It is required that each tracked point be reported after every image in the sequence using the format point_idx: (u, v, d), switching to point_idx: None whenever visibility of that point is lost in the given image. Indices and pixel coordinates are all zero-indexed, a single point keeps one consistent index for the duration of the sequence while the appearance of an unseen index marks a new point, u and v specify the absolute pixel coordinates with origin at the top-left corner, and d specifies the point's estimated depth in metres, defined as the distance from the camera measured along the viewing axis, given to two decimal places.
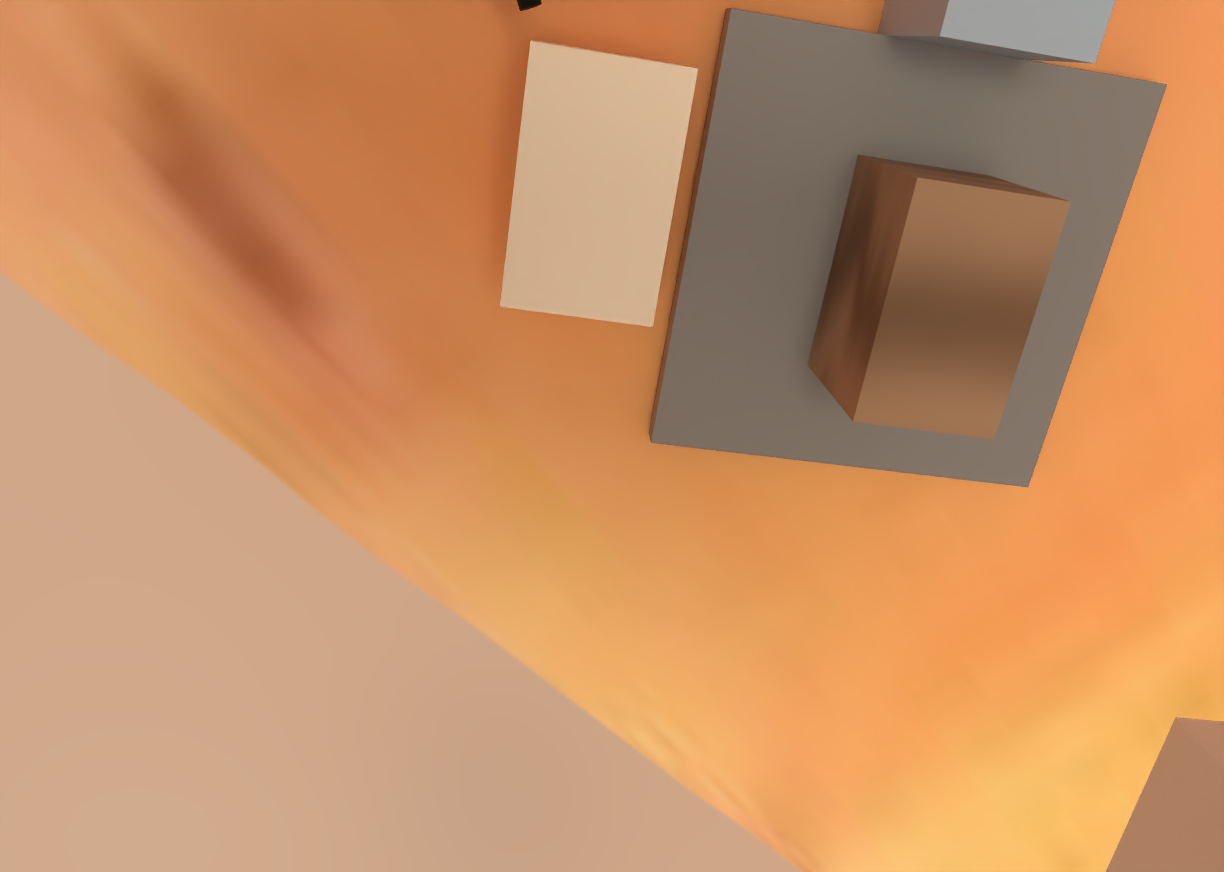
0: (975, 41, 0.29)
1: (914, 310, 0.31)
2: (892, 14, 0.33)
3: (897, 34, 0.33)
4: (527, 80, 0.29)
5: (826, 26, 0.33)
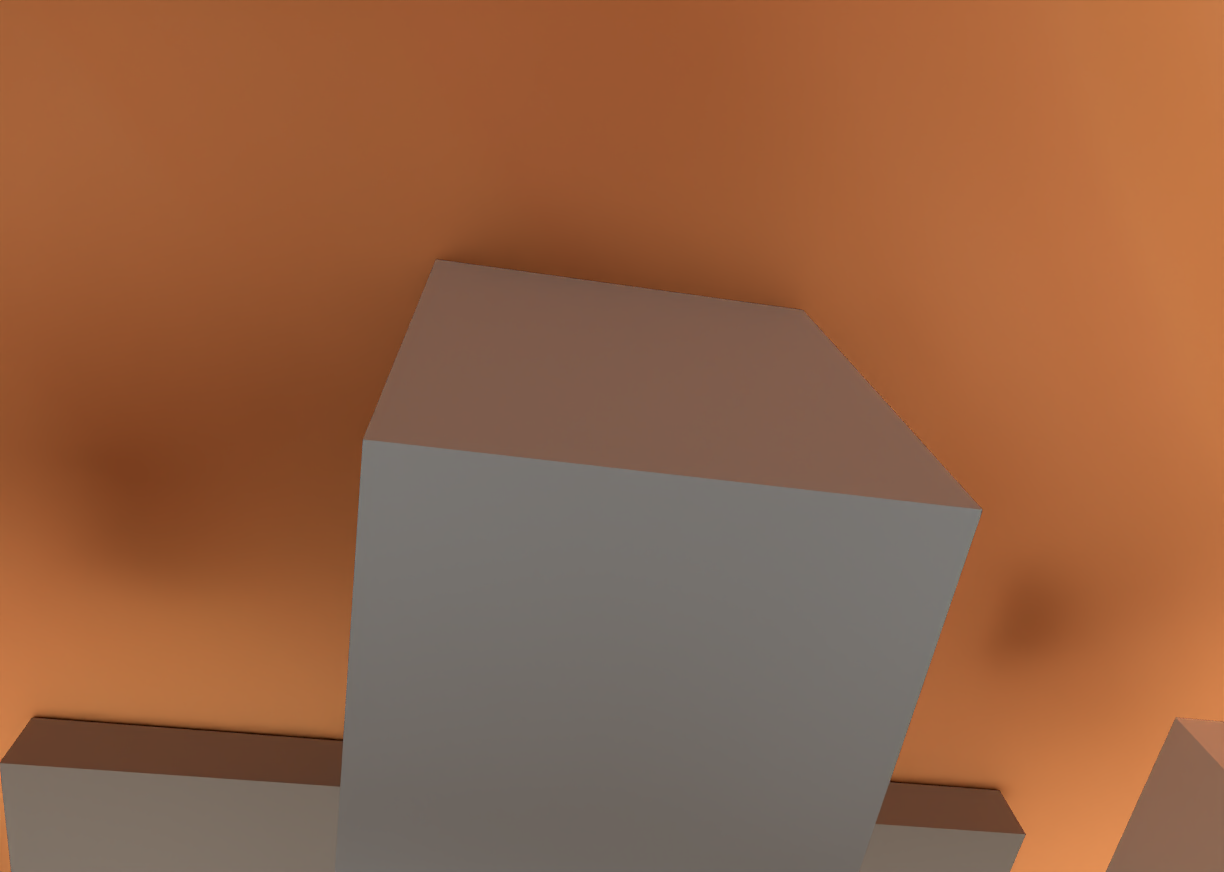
0: None
1: None
2: None
3: None
4: None
5: (237, 782, 0.15)
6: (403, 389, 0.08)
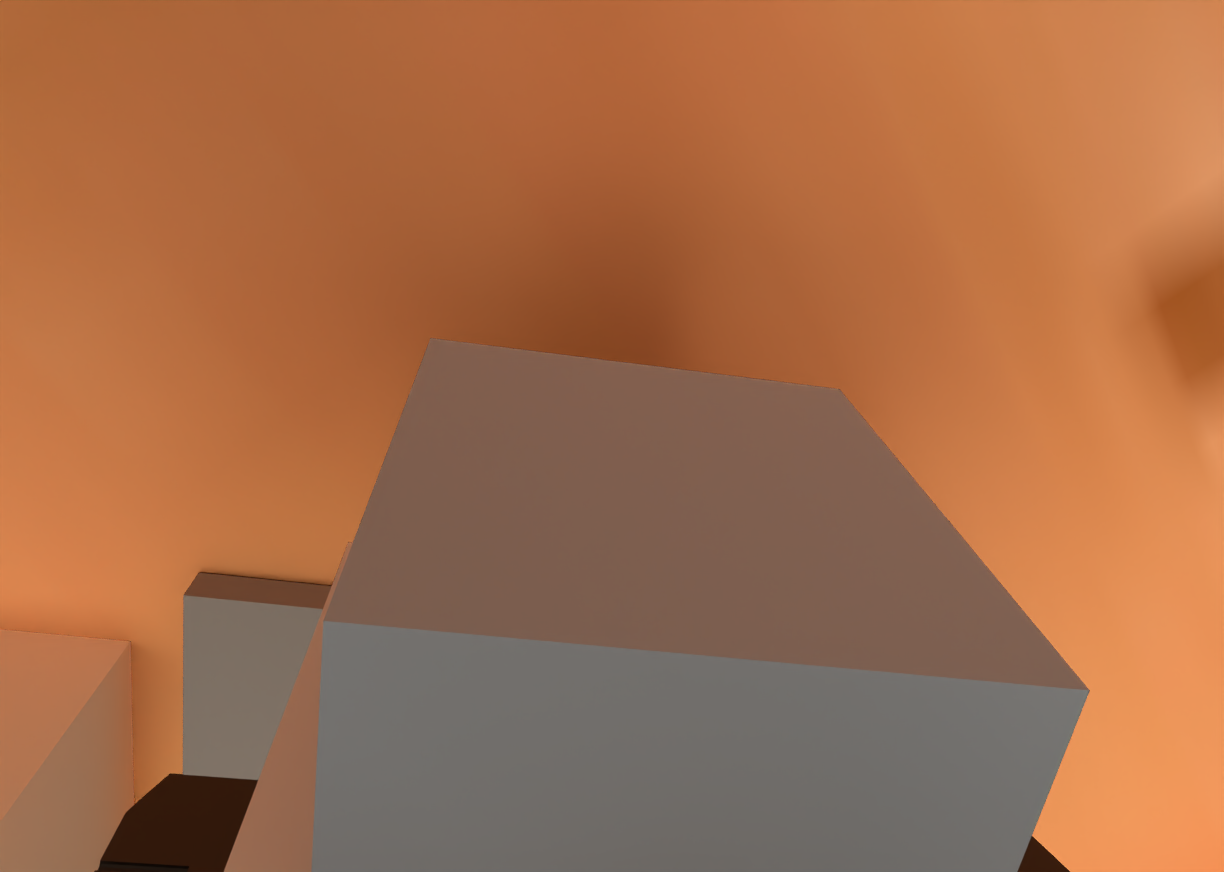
0: None
1: None
2: None
3: None
4: None
5: None
6: (379, 536, 0.07)
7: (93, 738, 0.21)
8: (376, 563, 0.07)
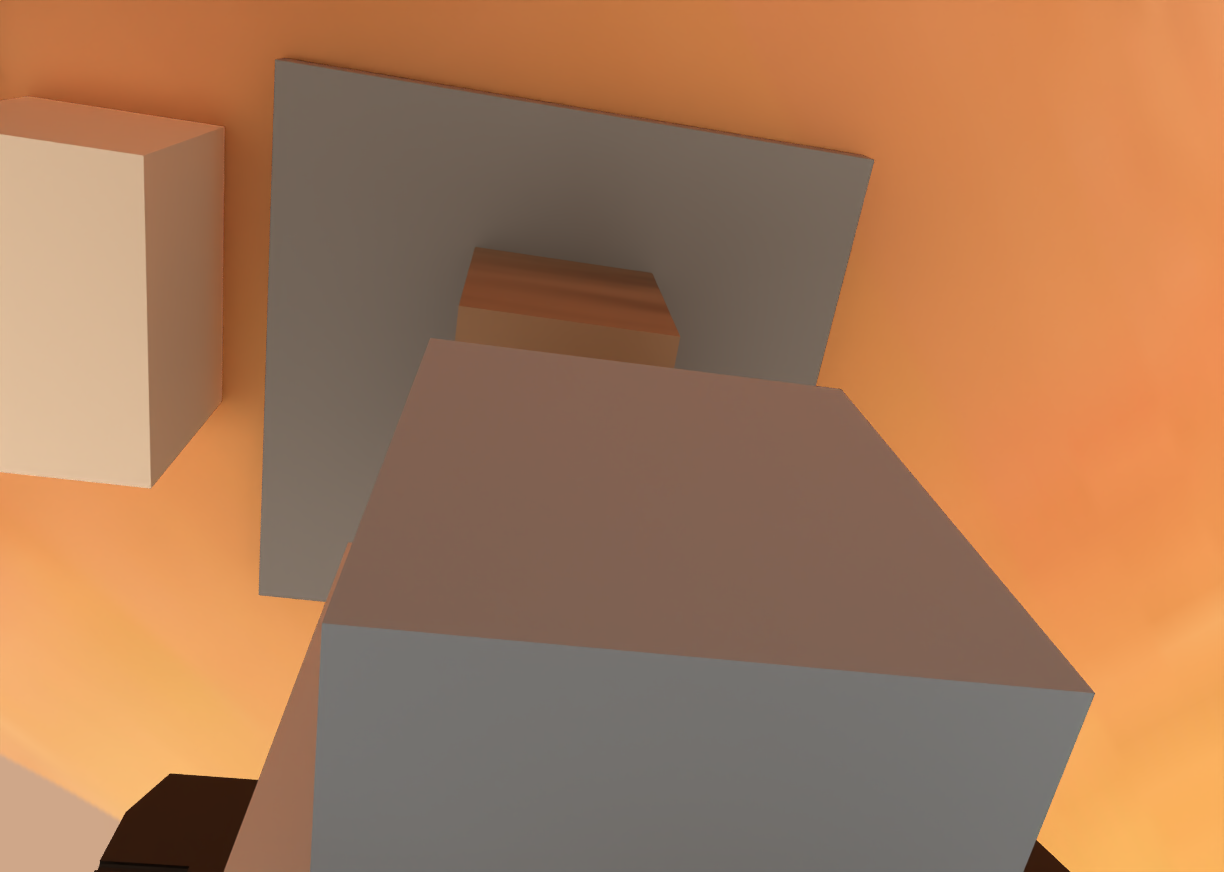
0: None
1: None
2: None
3: None
4: None
5: (408, 83, 0.25)
6: (378, 537, 0.07)
7: (200, 179, 0.25)
8: (375, 564, 0.07)
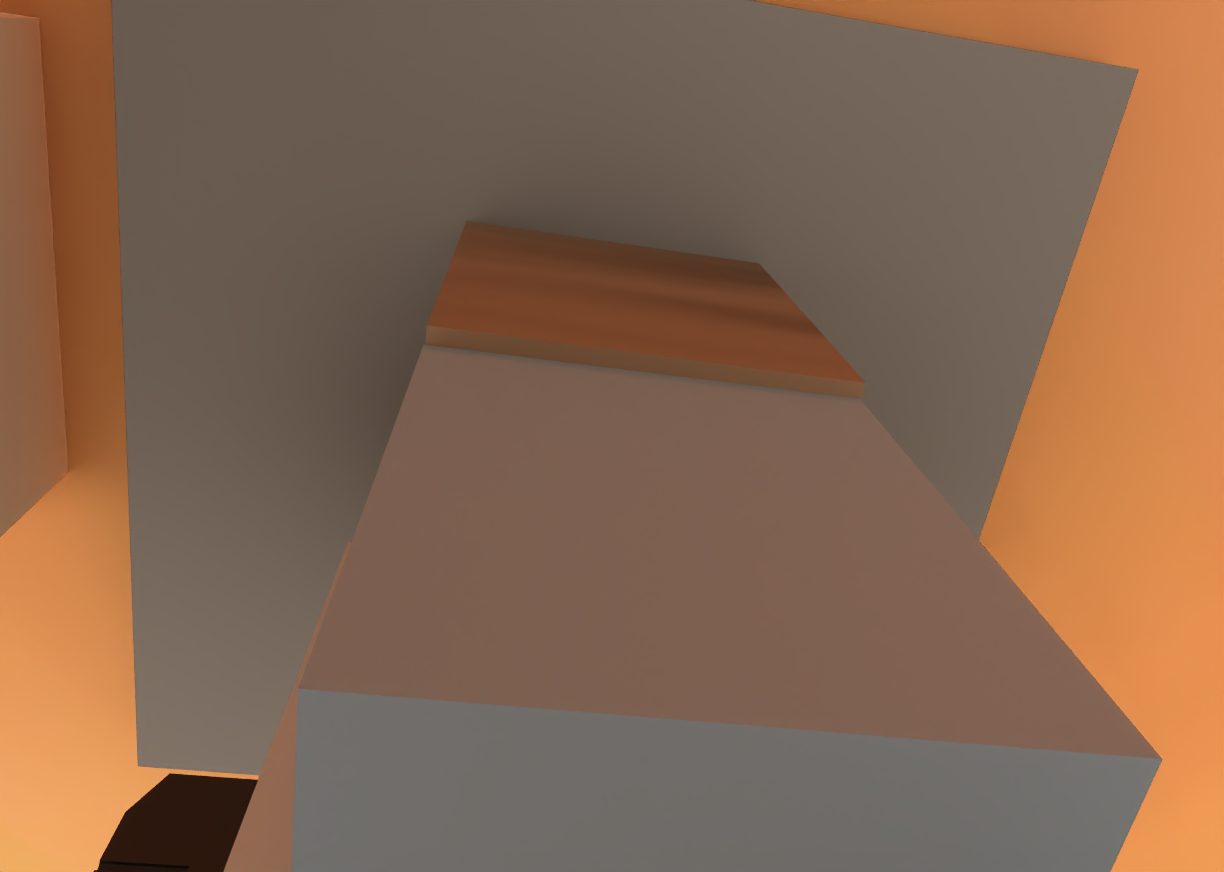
0: None
1: None
2: None
3: None
4: None
5: None
6: (364, 580, 0.06)
7: None
8: (360, 614, 0.06)
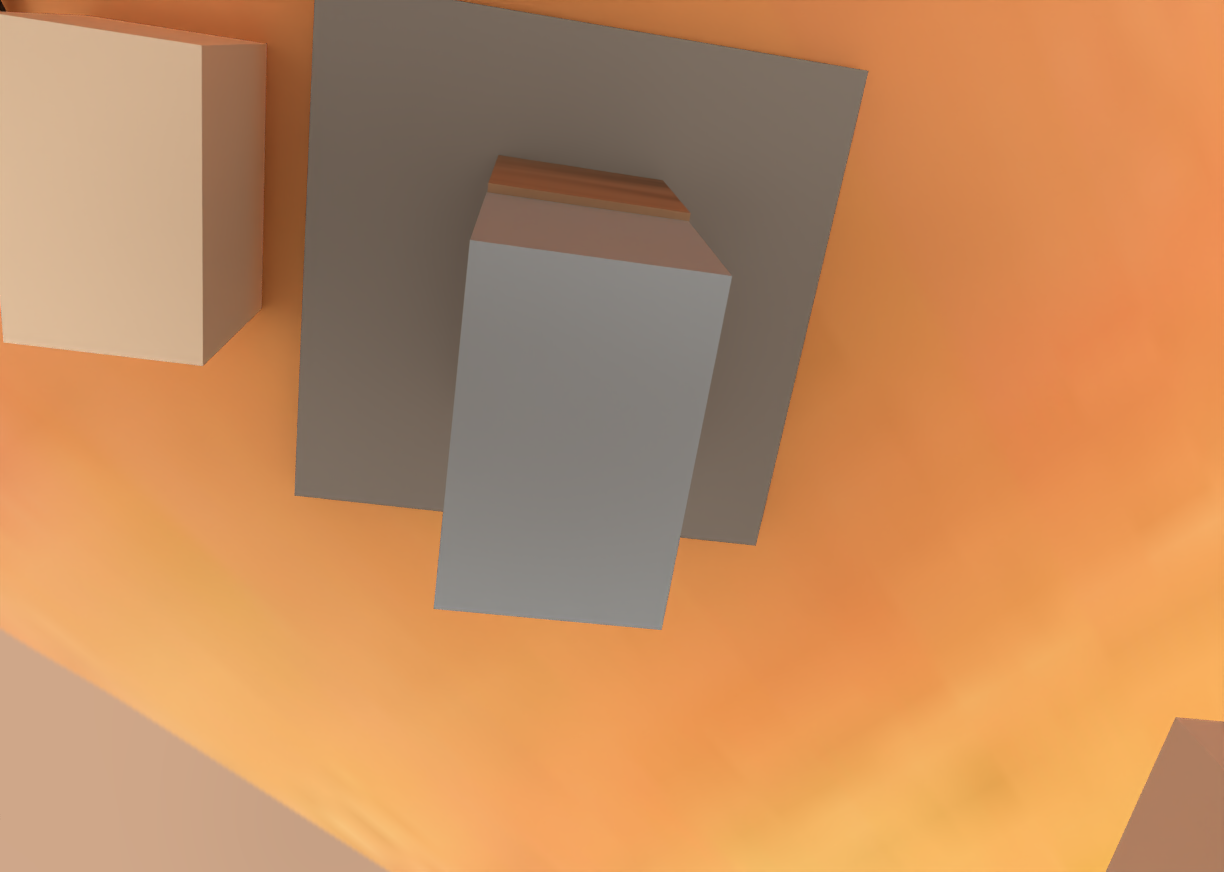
0: (486, 612, 0.21)
1: None
2: None
3: None
4: None
5: None
6: (482, 230, 0.19)
7: (246, 86, 0.27)
8: (483, 233, 0.19)
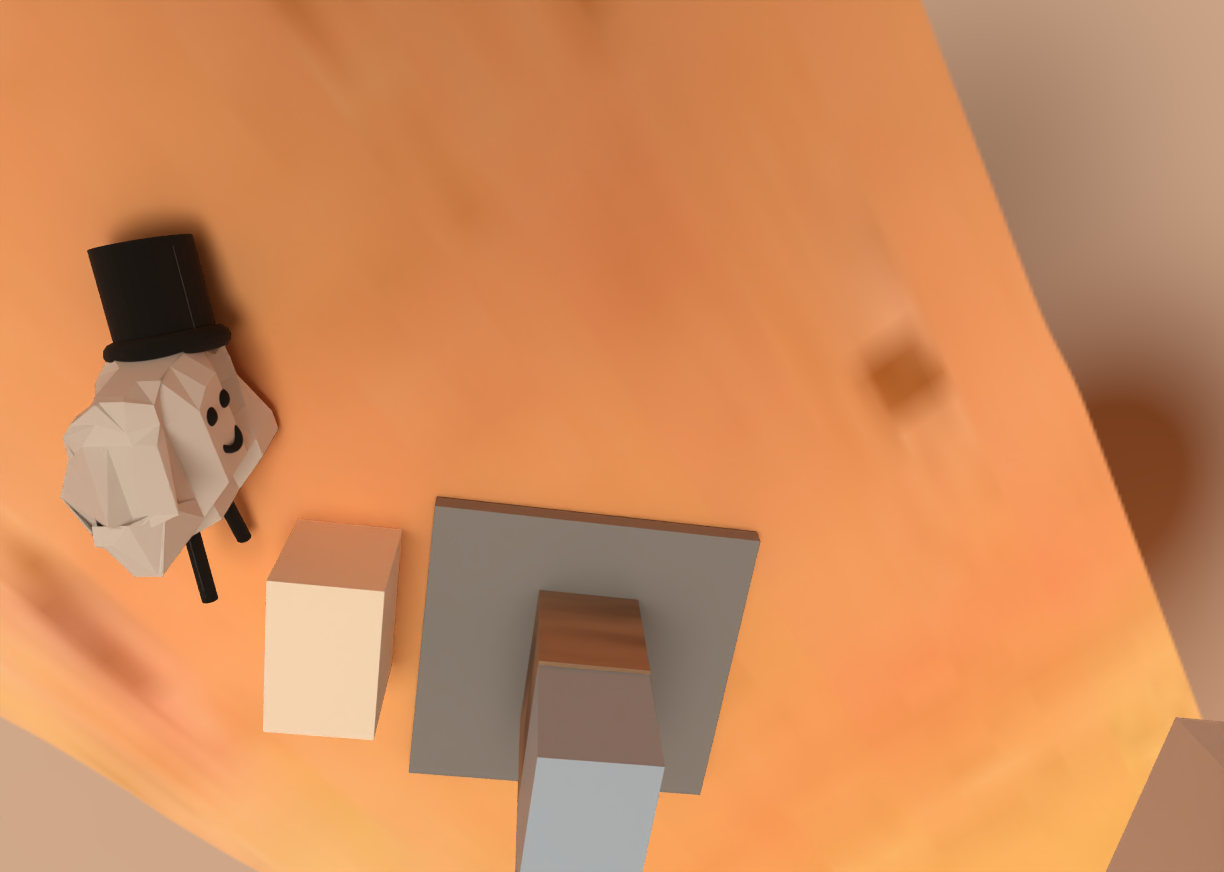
0: None
1: None
2: (518, 814, 0.45)
3: (516, 841, 0.44)
4: (267, 602, 0.42)
5: (505, 514, 0.47)
6: (541, 738, 0.39)
7: (395, 569, 0.47)
8: (542, 744, 0.38)
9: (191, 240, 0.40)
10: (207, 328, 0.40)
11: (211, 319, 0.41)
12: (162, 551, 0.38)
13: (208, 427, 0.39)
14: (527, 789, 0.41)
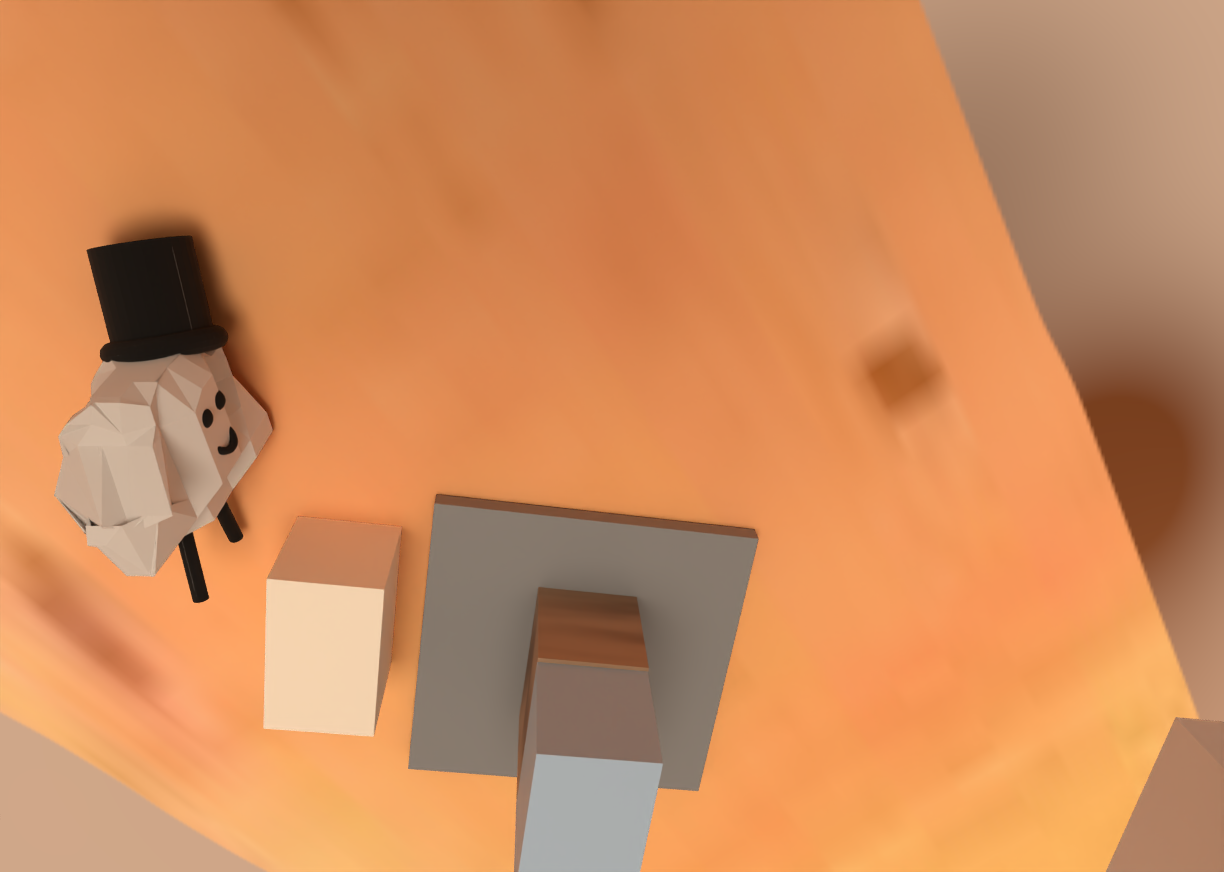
0: None
1: None
2: (517, 810, 0.45)
3: (515, 837, 0.44)
4: (267, 600, 0.43)
5: (504, 512, 0.47)
6: (540, 735, 0.39)
7: (394, 567, 0.47)
8: (541, 741, 0.39)
9: (190, 242, 0.41)
10: (204, 330, 0.40)
11: (209, 321, 0.41)
12: (155, 551, 0.38)
13: (203, 428, 0.39)
14: (526, 785, 0.41)
